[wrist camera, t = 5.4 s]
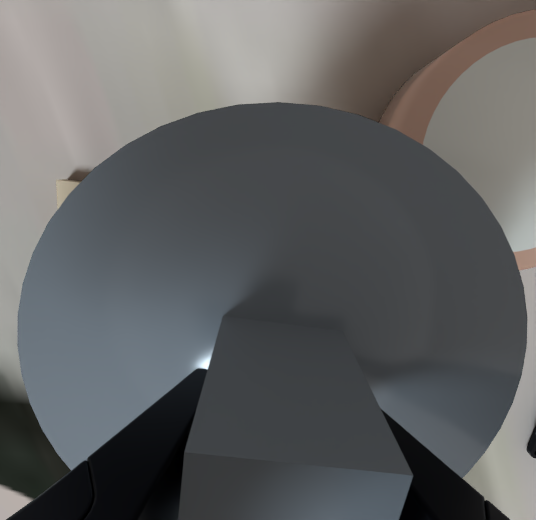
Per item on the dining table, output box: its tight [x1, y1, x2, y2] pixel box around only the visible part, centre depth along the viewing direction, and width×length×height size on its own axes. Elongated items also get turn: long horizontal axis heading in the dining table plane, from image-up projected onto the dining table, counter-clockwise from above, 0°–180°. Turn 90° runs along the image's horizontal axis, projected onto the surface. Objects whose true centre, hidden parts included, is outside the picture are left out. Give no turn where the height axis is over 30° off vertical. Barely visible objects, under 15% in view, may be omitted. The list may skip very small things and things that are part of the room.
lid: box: [18, 102, 527, 520], centre depth 7 cm, size 13×13×5 cm
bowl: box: [379, 10, 536, 270], centre depth 17 cm, size 11×11×5 cm
